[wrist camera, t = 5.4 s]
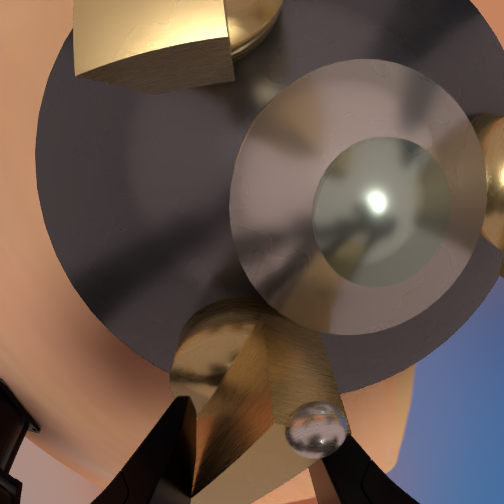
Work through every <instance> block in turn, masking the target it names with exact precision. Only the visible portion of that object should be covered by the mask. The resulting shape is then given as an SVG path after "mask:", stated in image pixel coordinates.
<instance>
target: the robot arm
mask: <svg viewBox="0 0 504 504" xmlns="http://www.w3.org/2000/svg"><path fill="white" fill-rule="evenodd" d="M27 430H29V431H32V432H35V433H39V432H40V428H39V427H38V426H37V424H36V423H35V422H34V421H33V420H32V419H31V418H30V416H29V415H28V414H27V413H26V412H25V410H24V409H23V408H22V407H21V406H20V404H19V403H18V402H17V401H16V399H15V398H14V397H13V395H12V394H11V393H10V392H9V390H8V389H7V387H6V386H5V385H4V384H3V382H1V381H0V504H20V497H21V491H22V482H20V481H19V480H17V479H15V478H13V477H12V476H10V475H9V471H10V469H11V466H12V464H13V462H14V459H15V457H16V455H17V452H18V450H19V448H20V445H21V443H22V441H23V439H24V437H25V434H26V432H27ZM196 430H197V414H196V409H195V407H194V404H193V402H192V399H191V397H190V396H177V397H176V398H175V400H174V401H173V402H172V404H171V405H170V406H169V408H168V409H167V410H166V412H165V413H164V414H163V416H162V417H161V418H160V420H159V421H158V422H157V424H156V425H155V426H154V428H153V429H152V430H151V431H150V433H149V434H148V435H147V437H146V438H145V439H144V441H143V442H142V443H141V445H140V446H139V447H138V449H137V450H136V451H135V452H134V454H133V455H132V456H131V458H130V459H129V460H128V461H127V463H126V464H125V465H124V467H123V468H122V469H121V471H120V472H119V473H118V474H117V475H116V477H115V478H114V479H113V480H112V482H111V483H110V484H109V485H108V486H107V487H106V489H105V490H104V491H103V492H102V493H101V494H100V495H99V496H98V497H97V498H96V499H95V500H94V501H93V502H92V503H91V504H191V496H192V487H193V479H194V471H195V463H196V449H197V443H196ZM308 468H309V472H310V476H311V479H312V483H313V487H314V490H315V494H316V498H317V501H318V504H420V503H418V502H417V501H416V500H415V499H413V498H411V496H410V495H408V494H407V493H406V492H404V491H403V490H402V489H401V488H400V487H399V486H397V485H396V484H395V483H394V482H393V481H392V480H390V478H389V477H388V476H386V474H385V473H384V472H383V471H382V470H381V469H380V468H379V467H378V466H377V465H376V463H375V462H374V461H373V460H371V458H370V457H369V456H368V454H367V453H366V452H365V451H364V450H363V449H362V447H361V446H360V445H359V444H358V443H357V442H356V440H355V439H354V438H353V437H352V436H351V435H349V436H348V437H347V438H346V439H345V440H344V442H343V444H342V445H341V446H340V448H339V449H338V450H337V451H335V452H334V453H332V454H331V455H329V456H326V457H324V458H320V459H319V460H318V461H316V462H315V463H313V464H312V465H311V466H309V467H308Z"/></svg>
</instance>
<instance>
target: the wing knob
mask: <svg viewBox="0 0 504 504" xmlns="http://www.w3.org/2000/svg"><path fill="white" fill-rule="evenodd" d="M170 388H171V391H172V394H173V396H174V398H176V397H177V396H190V397H191V399H192V402H193V404H194V407H195V409H196V414H197V418H198V419H197V430H196V443H197V449H196V463H195V471H194V479H193V487H192V496H191V504H250V503H252V502H254V501H256V500H258V499H259V498H261V497H263V496H265V495H266V494H268V493H270V492H271V491H273V490H275V489H276V488H278V487H279V486H281V485H283V484H284V483H286V482H287V481H289V480H290V479H292V478H293V477H295V476H296V475H298V474H299V473H301V472H302V471H304V470H305V469H306V468H308V467H309V466H311V465H312V464H313V463H315V462H316V461H318V460H319V459H320V458H324V457H326V456H329V455H331V454H332V453H334V452H335V451H337V450H338V449H339V448H340V446H341V445H342V444H343V442H344V440H345V439H346V438H347V437H348V436H349V435H351V434H352V433H351V430H350V426H349V423H348V420H347V416H346V413H345V410H344V406H343V403H342V400H341V397H340V393H339V390H338V387H337V384H336V381H335V377H334V374H333V371H332V368H331V365H330V362H329V359H328V356H327V353H326V350H325V347H324V344H323V341H322V338H321V335H320V332H319V331H316V330H312V329H310V328H307V327H304V326H302V325H299V324H297V323H296V322H294V321H292V320H290V319H288V318H286V317H285V316H283V315H282V314H281V313H279V312H278V311H277V310H275V309H274V308H273V307H272V306H271V305H270V304H269V303H268V302H267V301H266V300H265V299H260V298H253V297H235V298H228V299H224V300H220V301H216V302H214V303H211V304H209V305H207V306H205V307H203V308H201V309H200V310H198V311H197V312H196V313H194V314H193V315H192V316H191V317H190V318H189V319H188V321H187V322H186V323H185V325H184V326H183V328H182V330H181V333H180V337H179V341H178V345H177V349H176V353H175V357H174V361H173V365H172V369H171V374H170Z"/></svg>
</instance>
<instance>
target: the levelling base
mask: <svg viewBox="0 0 504 504" xmlns="http://www.w3.org/2000/svg"><path fill="white" fill-rule="evenodd" d="M35 160H36V178H37V189H38V195H39V200H40V205H41V209H42V214H43V218H44V223H45V226H46V229H47V231H48V234H49V237H50V240H51V242H52V245H53V248H54V250H55V253H56V255H57V257H58V259H59V261H60V263H61V265H62V267H63V269H64V271H65V273H66V274H67V276H68V278H69V280H70V282H71V283H72V285H73V287H74V288H75V290H76V291H77V292H78V294H79V295H80V297H81V298H82V299H83V301H84V302H85V303H86V305H87V306H88V307H89V309H90V310H91V311H92V313H93V314H94V315H95V316H96V317H97V318H98V319H99V320H100V321H101V322H102V323H103V324H104V325H105V326H106V327H107V328H108V329H109V330H110V331H111V332H112V334H113V335H115V336H116V337H117V338H118V339H119V340H121V341H122V342H123V343H124V344H125V345H127V346H128V347H129V348H130V349H132V350H133V351H134V352H136V353H137V354H138V355H140V356H141V357H143V358H144V359H146V360H147V361H149V362H151V363H152V364H154V365H155V366H157V367H159V368H160V369H162V370H164V371H166V372H168V373H170V374H171V369H172V365H173V361H174V357H175V353H176V349H177V345H178V341H179V337H180V333H181V330H182V328H183V326H184V325H185V323H186V322H187V321H188V319H189V318H190V317H191V316H192V315H193V314H194V313H196V312H197V311H198V310H200V309H201V308H203V307H205V306H207V305H209V304H211V303H214V302H216V301H220V300H224V299H228V298H235V297H253V298H260V299H265V300H266V301H267V302H268V303H269V304H270V305H271V306H272V307H273V308H274V309H275V310H277V311H278V312H279V313H281V314H282V315H283V316H285V317H286V318H288V319H290V320H292V321H294V322H296V323H297V324H299V325H302V326H304V327H307V328H310V329H312V330H316V331H319V332H320V335H321V338H322V341H323V344H324V347H325V350H326V353H327V356H328V359H329V362H330V365H331V368H332V371H333V374H334V377H335V381H336V384H337V387H338V390H339V393H340V394H342V393H346V392H350V391H354V390H357V389H360V388H363V387H366V386H369V385H372V384H374V383H377V382H380V381H382V380H384V379H386V378H388V377H391V376H393V375H395V374H397V373H399V372H401V371H403V370H405V369H406V368H408V367H410V366H411V365H413V364H415V363H416V362H418V361H419V360H421V359H423V358H424V357H426V356H427V355H428V354H430V353H431V352H432V351H433V350H435V349H436V348H438V347H439V346H440V345H441V344H443V343H444V342H445V341H446V340H448V339H449V338H450V337H451V336H452V335H453V334H454V333H455V332H456V331H457V330H458V329H459V328H460V327H461V326H462V325H463V324H464V323H465V322H466V321H467V320H468V319H469V317H470V316H471V315H472V314H473V313H474V312H475V310H476V309H477V308H478V307H479V306H480V304H481V303H482V302H483V300H484V299H485V297H486V296H487V295H488V293H489V292H490V290H491V289H492V287H493V286H494V284H495V282H496V281H497V279H498V277H499V276H500V275H501V276H502V277H503V278H504V50H503V48H502V46H501V44H500V43H499V41H498V39H497V37H496V36H495V34H494V32H493V31H492V29H491V28H490V26H489V25H488V23H487V22H486V20H485V19H484V18H483V16H482V15H481V13H480V12H479V11H478V9H477V8H476V7H475V6H474V5H473V3H471V1H470V0H74V8H73V29H72V30H71V32H70V34H69V35H68V37H67V38H66V40H65V42H64V44H63V46H62V48H61V50H60V52H59V54H58V57H57V59H56V61H55V63H54V66H53V68H52V70H51V73H50V75H49V78H48V81H47V85H46V88H45V92H44V96H43V100H42V104H41V108H40V112H39V118H38V126H37V136H36V148H35Z"/></svg>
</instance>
